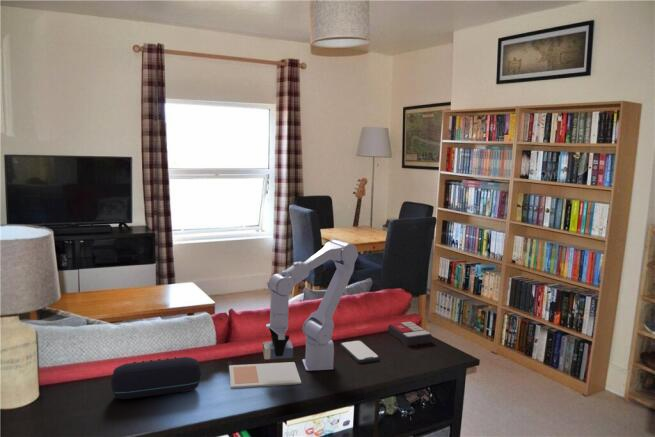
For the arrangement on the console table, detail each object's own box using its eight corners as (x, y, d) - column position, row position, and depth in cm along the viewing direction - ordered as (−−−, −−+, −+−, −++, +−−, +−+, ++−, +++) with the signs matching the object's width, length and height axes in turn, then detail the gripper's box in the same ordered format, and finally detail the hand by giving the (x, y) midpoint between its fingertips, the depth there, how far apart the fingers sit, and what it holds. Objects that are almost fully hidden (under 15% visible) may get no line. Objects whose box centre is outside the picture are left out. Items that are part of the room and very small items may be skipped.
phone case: (339, 346, 195) (358, 364, 181) (339, 342, 195) (358, 360, 181) (360, 343, 199) (380, 361, 185) (360, 339, 199) (380, 357, 184)
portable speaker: (197, 379, 165) (198, 350, 163) (202, 395, 156) (202, 364, 154) (112, 390, 156) (111, 359, 154) (111, 407, 147) (110, 375, 145)
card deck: (290, 350, 171) (290, 340, 171) (292, 357, 166) (293, 347, 166) (262, 351, 169) (263, 341, 169) (264, 359, 164) (264, 349, 164)
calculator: (411, 320, 215) (432, 332, 201) (410, 330, 215) (431, 343, 202) (387, 323, 210) (407, 335, 197) (387, 333, 211) (407, 346, 197)
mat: (294, 363, 178) (294, 361, 178) (301, 383, 165) (301, 382, 165) (229, 367, 174) (229, 365, 173) (230, 388, 160) (230, 386, 160)
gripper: (264, 303, 171) (263, 342, 174) (269, 320, 157) (267, 362, 160) (285, 303, 173) (284, 341, 175) (292, 319, 159) (290, 361, 161)
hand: (277, 351), depth 168 cm, fingers closed on card deck, 5 cm apart
